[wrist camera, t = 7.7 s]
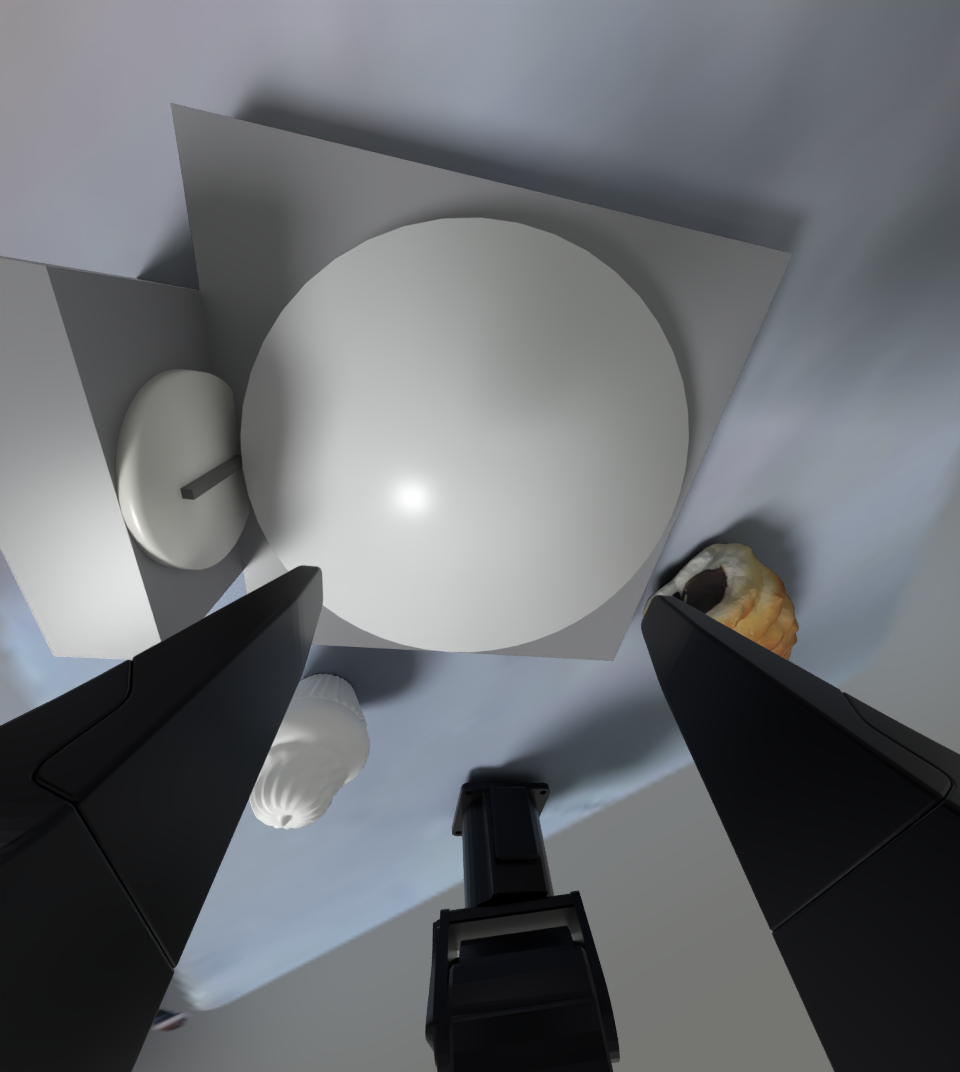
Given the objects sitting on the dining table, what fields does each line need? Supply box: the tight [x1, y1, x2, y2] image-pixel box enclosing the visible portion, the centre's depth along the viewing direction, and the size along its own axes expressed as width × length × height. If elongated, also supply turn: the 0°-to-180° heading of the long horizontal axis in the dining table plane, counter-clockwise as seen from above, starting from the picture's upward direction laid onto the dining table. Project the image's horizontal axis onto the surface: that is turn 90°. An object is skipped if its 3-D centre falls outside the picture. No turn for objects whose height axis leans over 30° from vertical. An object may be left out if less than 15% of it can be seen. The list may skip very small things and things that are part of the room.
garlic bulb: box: [250, 673, 370, 829], centre depth 19 cm, size 6×6×7 cm
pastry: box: [643, 543, 799, 660], centre depth 20 cm, size 9×7×4 cm
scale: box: [0, 103, 793, 661], centre depth 13 cm, size 18×21×7 cm
